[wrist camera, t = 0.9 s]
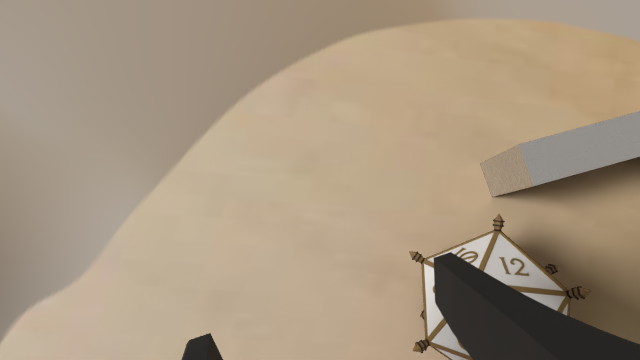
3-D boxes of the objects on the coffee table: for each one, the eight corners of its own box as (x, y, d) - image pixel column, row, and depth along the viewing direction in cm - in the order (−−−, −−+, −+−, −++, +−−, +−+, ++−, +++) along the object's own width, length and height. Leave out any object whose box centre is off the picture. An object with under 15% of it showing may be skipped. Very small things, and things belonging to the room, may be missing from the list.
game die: (453, 314, 27) (505, 473, 18) (368, 252, 25) (382, 397, 16) (563, 242, 24) (691, 395, 15) (476, 162, 22) (566, 285, 13)
